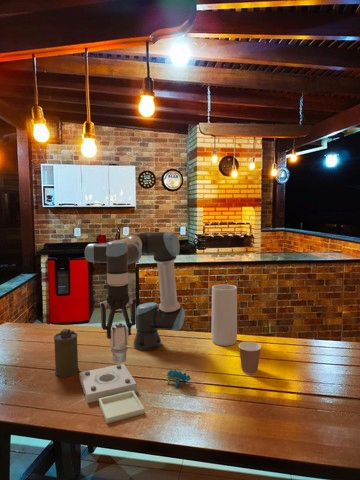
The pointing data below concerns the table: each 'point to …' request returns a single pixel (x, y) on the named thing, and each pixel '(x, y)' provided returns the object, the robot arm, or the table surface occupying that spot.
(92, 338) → the table surface
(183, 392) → the table surface
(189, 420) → the table surface
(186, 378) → the teal bumpy figure
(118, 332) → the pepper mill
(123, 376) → the bearing plate
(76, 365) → the canister
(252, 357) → the coffee cup
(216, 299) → the vase
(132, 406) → the parts tray
